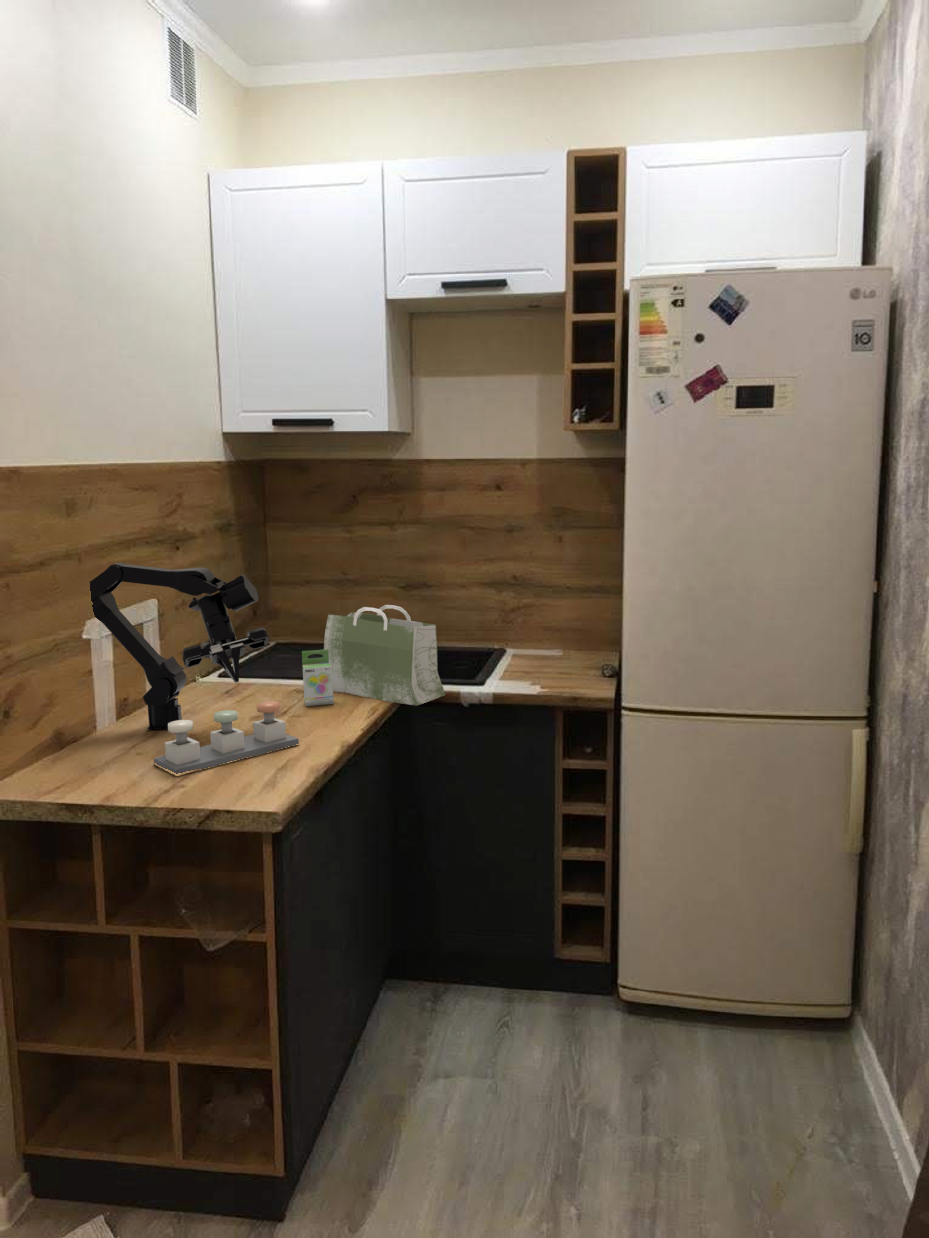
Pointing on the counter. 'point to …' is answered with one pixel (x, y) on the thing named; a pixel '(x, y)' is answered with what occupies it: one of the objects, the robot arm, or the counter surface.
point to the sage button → (226, 720)
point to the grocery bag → (383, 656)
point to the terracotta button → (268, 710)
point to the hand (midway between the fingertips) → (237, 681)
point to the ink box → (317, 678)
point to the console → (225, 747)
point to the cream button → (180, 730)
